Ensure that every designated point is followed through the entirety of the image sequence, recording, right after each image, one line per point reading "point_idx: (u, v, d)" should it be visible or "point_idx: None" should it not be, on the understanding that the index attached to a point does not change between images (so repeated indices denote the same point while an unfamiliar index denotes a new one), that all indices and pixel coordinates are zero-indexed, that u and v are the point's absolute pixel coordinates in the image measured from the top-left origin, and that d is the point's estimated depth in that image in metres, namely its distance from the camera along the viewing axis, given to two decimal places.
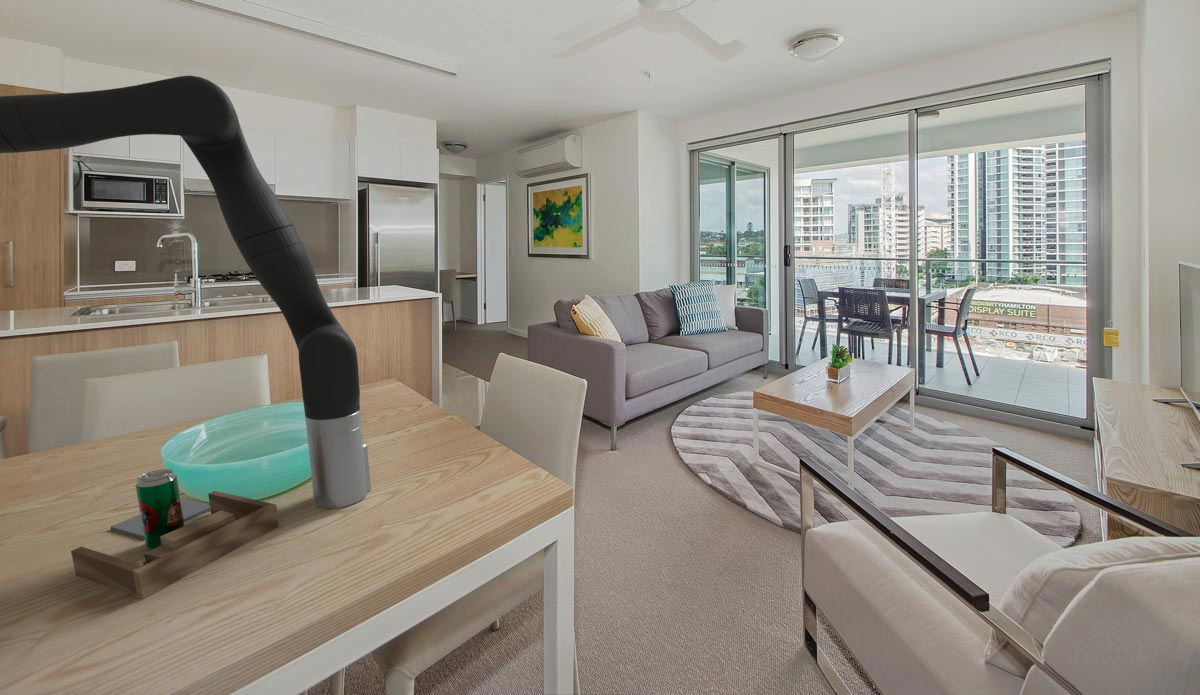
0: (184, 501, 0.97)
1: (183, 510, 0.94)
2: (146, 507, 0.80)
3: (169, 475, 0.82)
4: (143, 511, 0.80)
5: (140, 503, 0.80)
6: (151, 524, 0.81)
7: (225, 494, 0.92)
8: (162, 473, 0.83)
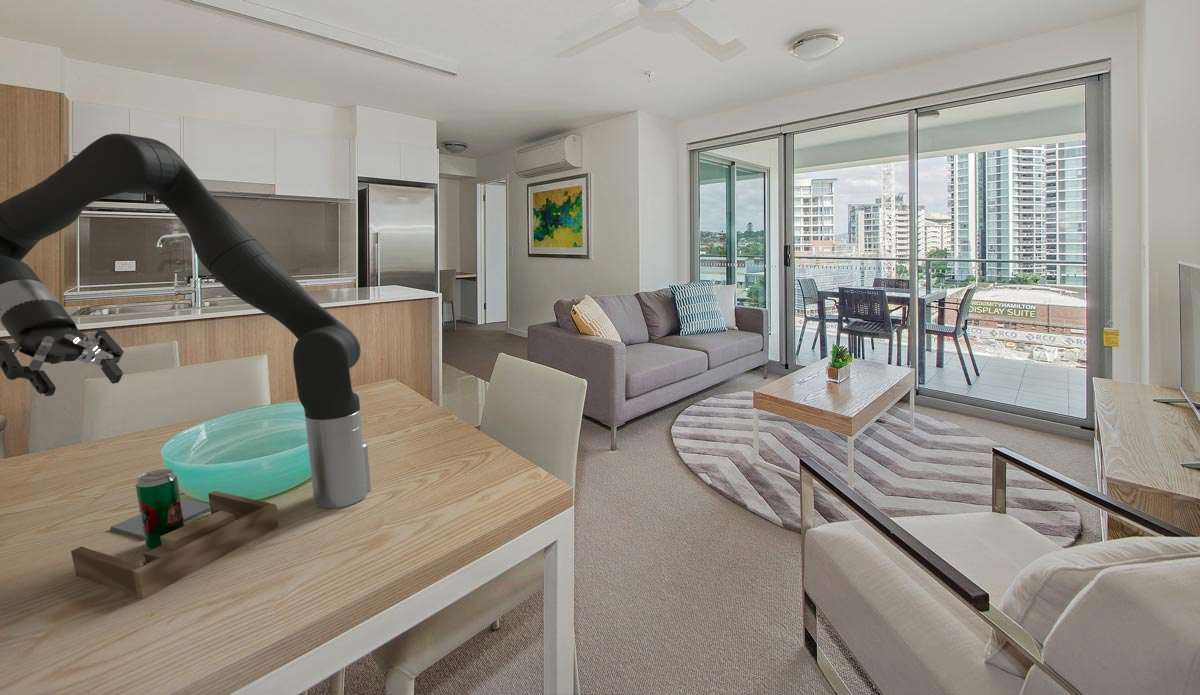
0: (184, 501, 0.97)
1: (183, 510, 0.94)
2: (146, 507, 0.80)
3: (169, 475, 0.82)
4: (143, 511, 0.80)
5: (140, 503, 0.80)
6: (151, 524, 0.81)
7: (225, 494, 0.92)
8: (162, 473, 0.83)
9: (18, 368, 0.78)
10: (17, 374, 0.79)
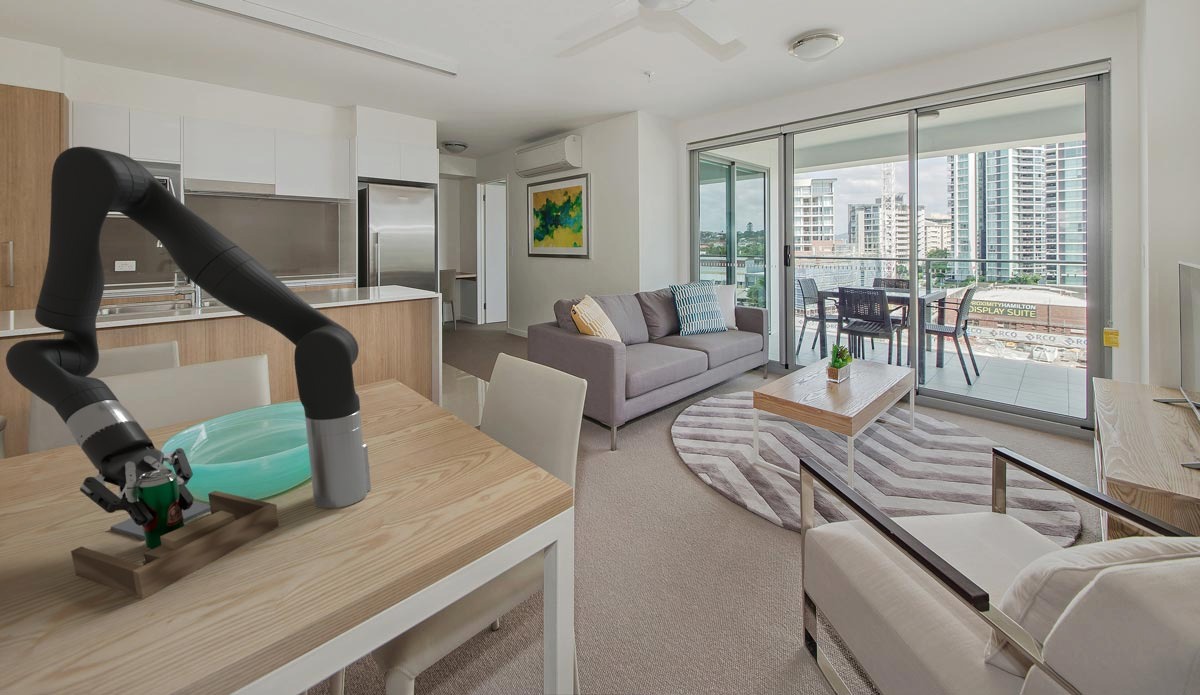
0: None
1: (183, 510, 0.94)
2: (146, 507, 0.80)
3: (169, 475, 0.82)
4: None
5: None
6: (151, 524, 0.81)
7: (225, 494, 0.92)
8: (162, 473, 0.83)
9: (118, 502, 0.78)
10: (117, 507, 0.78)
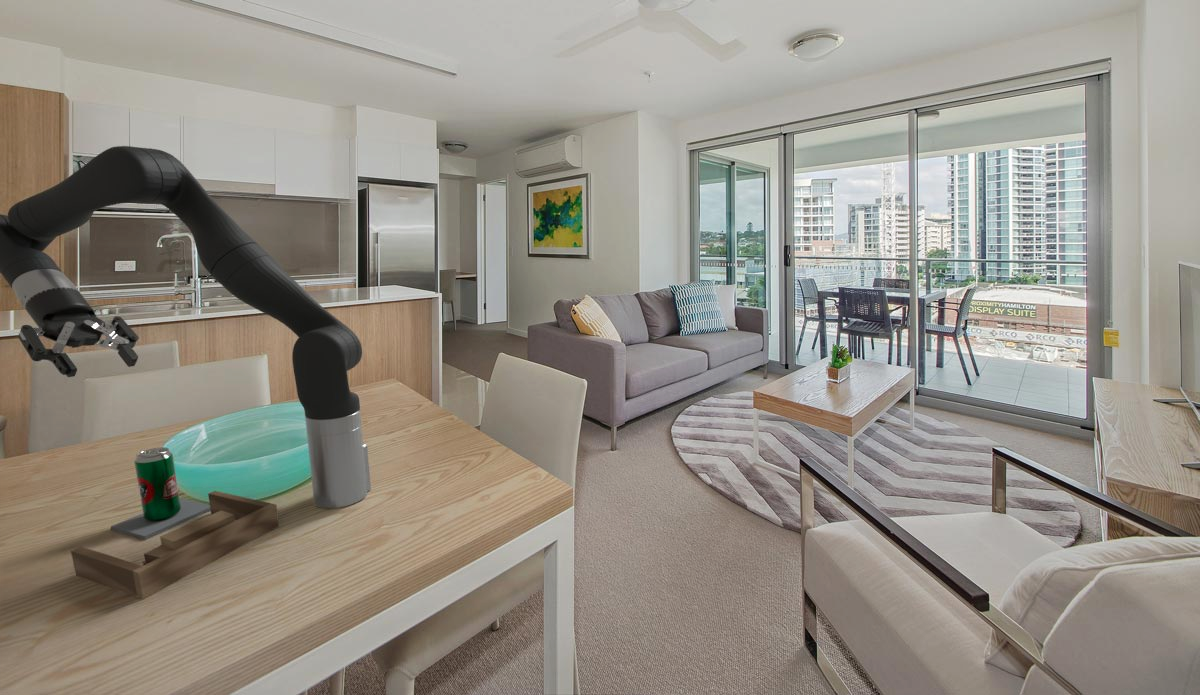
0: (184, 501, 0.97)
1: (183, 510, 0.94)
2: (144, 481, 0.88)
3: (165, 452, 0.90)
4: (141, 485, 0.88)
5: (138, 477, 0.88)
6: (148, 496, 0.88)
7: (225, 494, 0.92)
8: (159, 451, 0.90)
9: (42, 350, 0.84)
10: (41, 356, 0.84)
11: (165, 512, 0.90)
